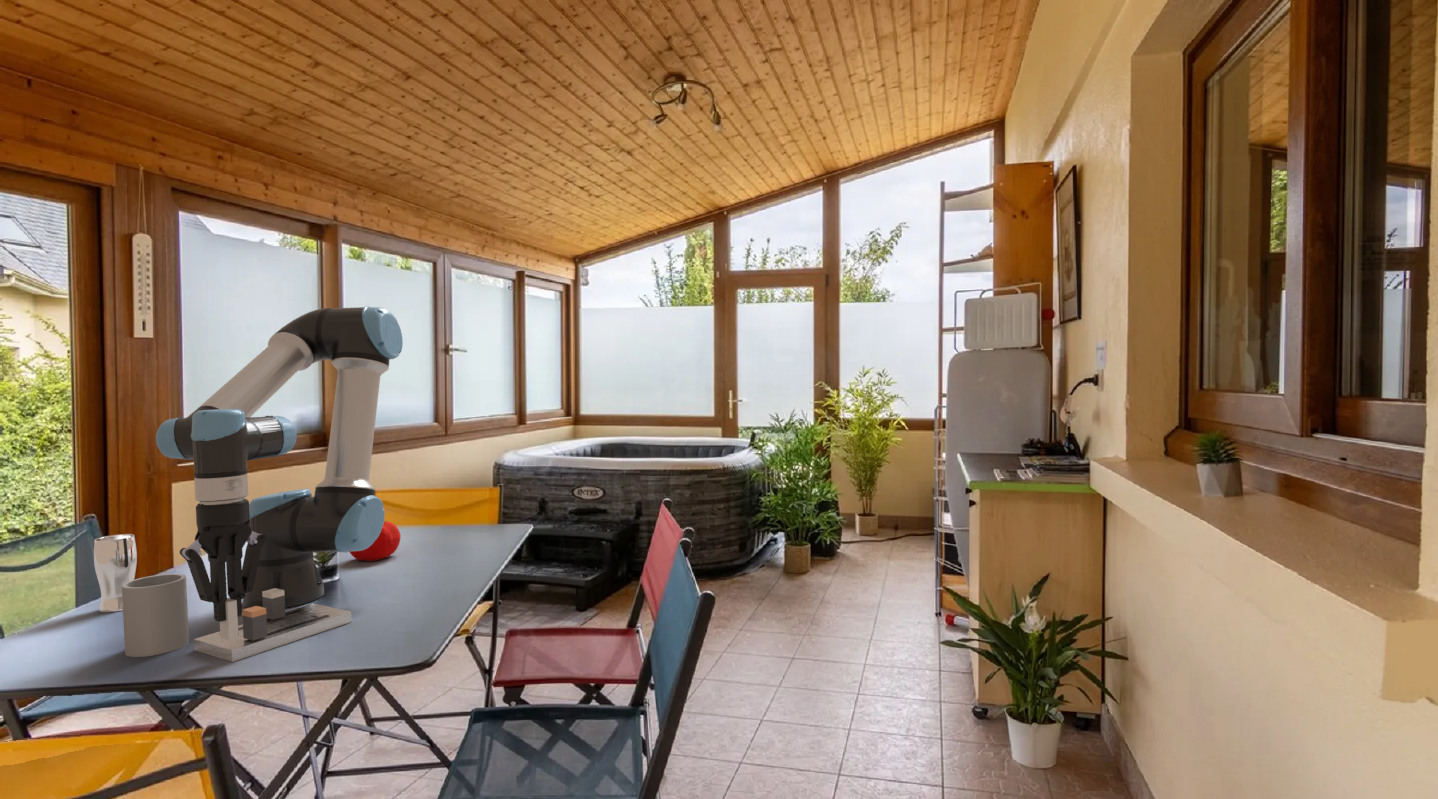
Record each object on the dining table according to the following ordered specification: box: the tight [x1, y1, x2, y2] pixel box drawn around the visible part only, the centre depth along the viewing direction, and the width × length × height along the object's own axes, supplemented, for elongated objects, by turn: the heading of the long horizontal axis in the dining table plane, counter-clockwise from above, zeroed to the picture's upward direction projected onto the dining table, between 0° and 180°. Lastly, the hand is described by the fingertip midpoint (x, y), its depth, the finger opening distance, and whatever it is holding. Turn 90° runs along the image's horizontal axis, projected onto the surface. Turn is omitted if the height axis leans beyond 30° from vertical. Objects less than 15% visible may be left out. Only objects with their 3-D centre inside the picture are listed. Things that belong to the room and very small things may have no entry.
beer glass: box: [93, 533, 138, 613], centre depth 155 cm, size 7×7×15 cm
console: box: [193, 603, 353, 663], centre depth 137 cm, size 12×22×2 cm, turn 151°
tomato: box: [349, 519, 402, 562], centre depth 194 cm, size 11×13×10 cm
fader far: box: [262, 588, 286, 620], centre depth 141 cm, size 3×2×5 cm
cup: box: [122, 573, 190, 658], centre depth 132 cm, size 9×9×12 cm
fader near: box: [241, 606, 267, 641], centre depth 130 cm, size 3×2×5 cm
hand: (229, 637), depth 126 cm, fingers closed
